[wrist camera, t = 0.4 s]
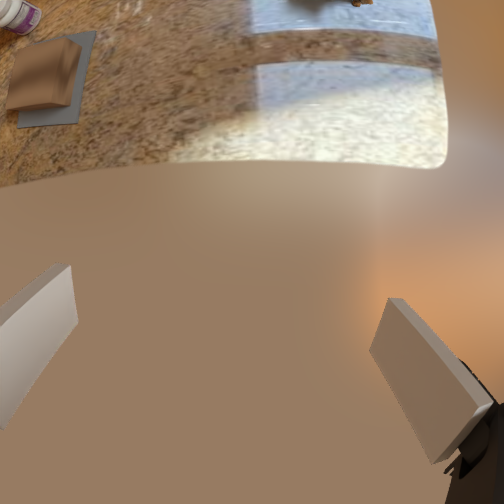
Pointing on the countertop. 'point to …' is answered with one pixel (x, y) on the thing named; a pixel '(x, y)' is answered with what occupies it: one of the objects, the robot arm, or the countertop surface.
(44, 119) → the mat
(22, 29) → the pill bottle
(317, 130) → the countertop surface
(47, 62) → the base block
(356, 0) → the lion figurine
